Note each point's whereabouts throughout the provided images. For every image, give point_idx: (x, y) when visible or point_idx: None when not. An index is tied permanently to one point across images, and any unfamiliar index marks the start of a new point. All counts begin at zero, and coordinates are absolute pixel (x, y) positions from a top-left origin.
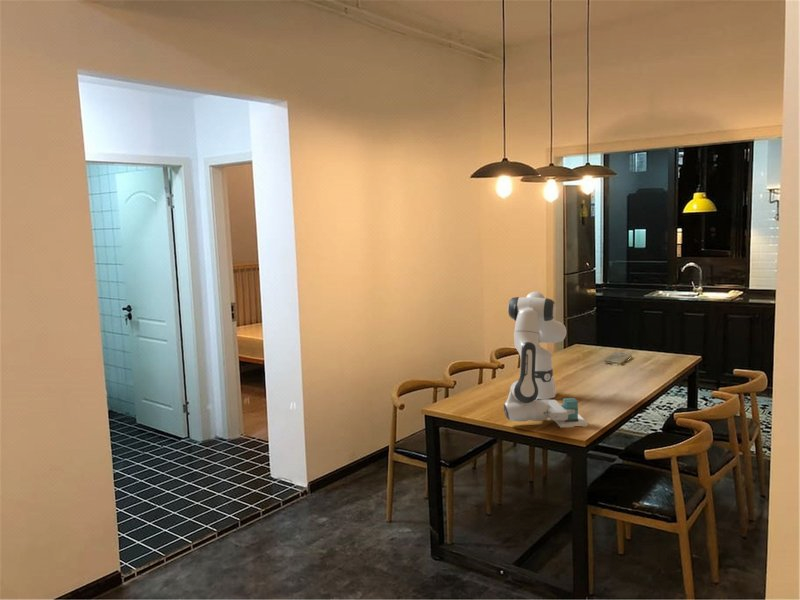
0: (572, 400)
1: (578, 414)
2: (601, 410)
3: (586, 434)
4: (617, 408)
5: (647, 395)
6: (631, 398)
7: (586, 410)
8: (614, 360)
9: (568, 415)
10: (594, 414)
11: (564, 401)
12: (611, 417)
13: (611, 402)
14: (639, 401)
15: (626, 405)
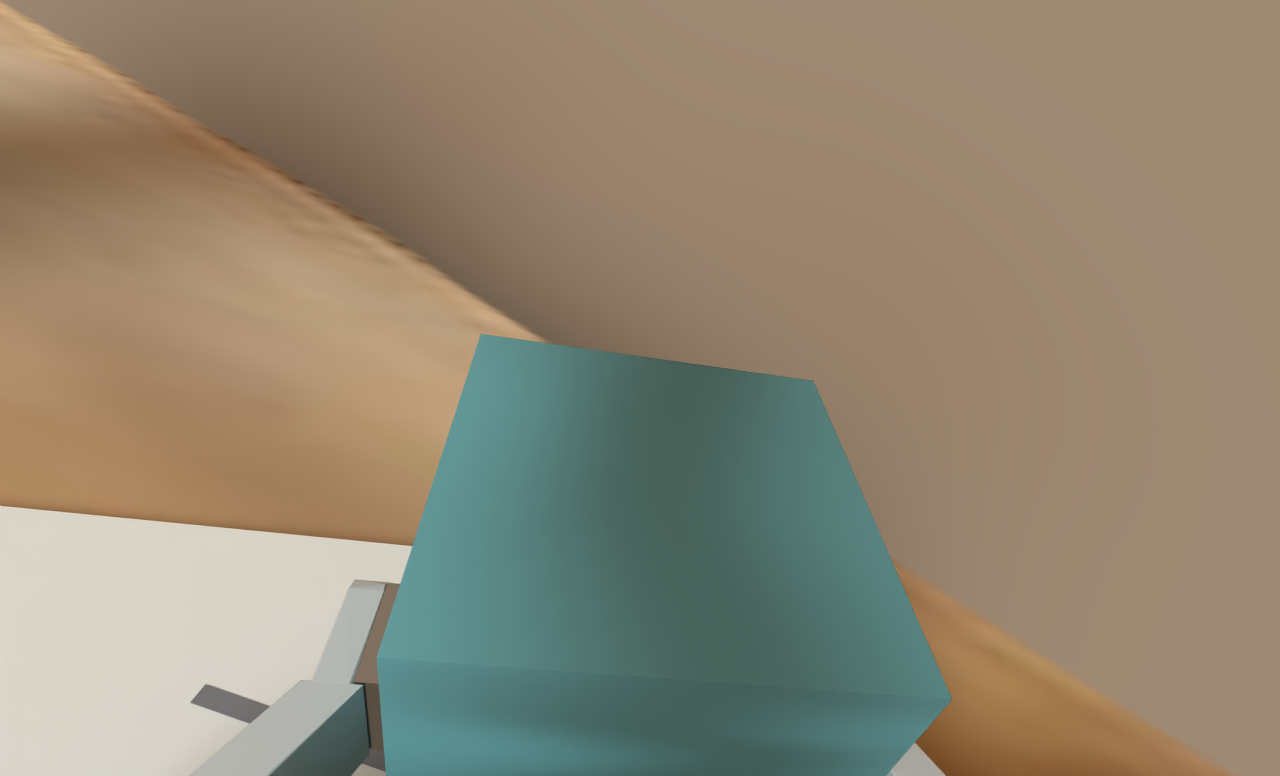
0: (739, 451)
1: (275, 539)
2: (176, 284)
3: (1137, 771)
4: (220, 205)
5: (84, 52)
6: (55, 91)
7: (31, 373)
8: None
9: None
10: (267, 374)
11: (601, 719)
12: (455, 316)
13: (9, 163)
14: (167, 102)
15: (192, 156)
